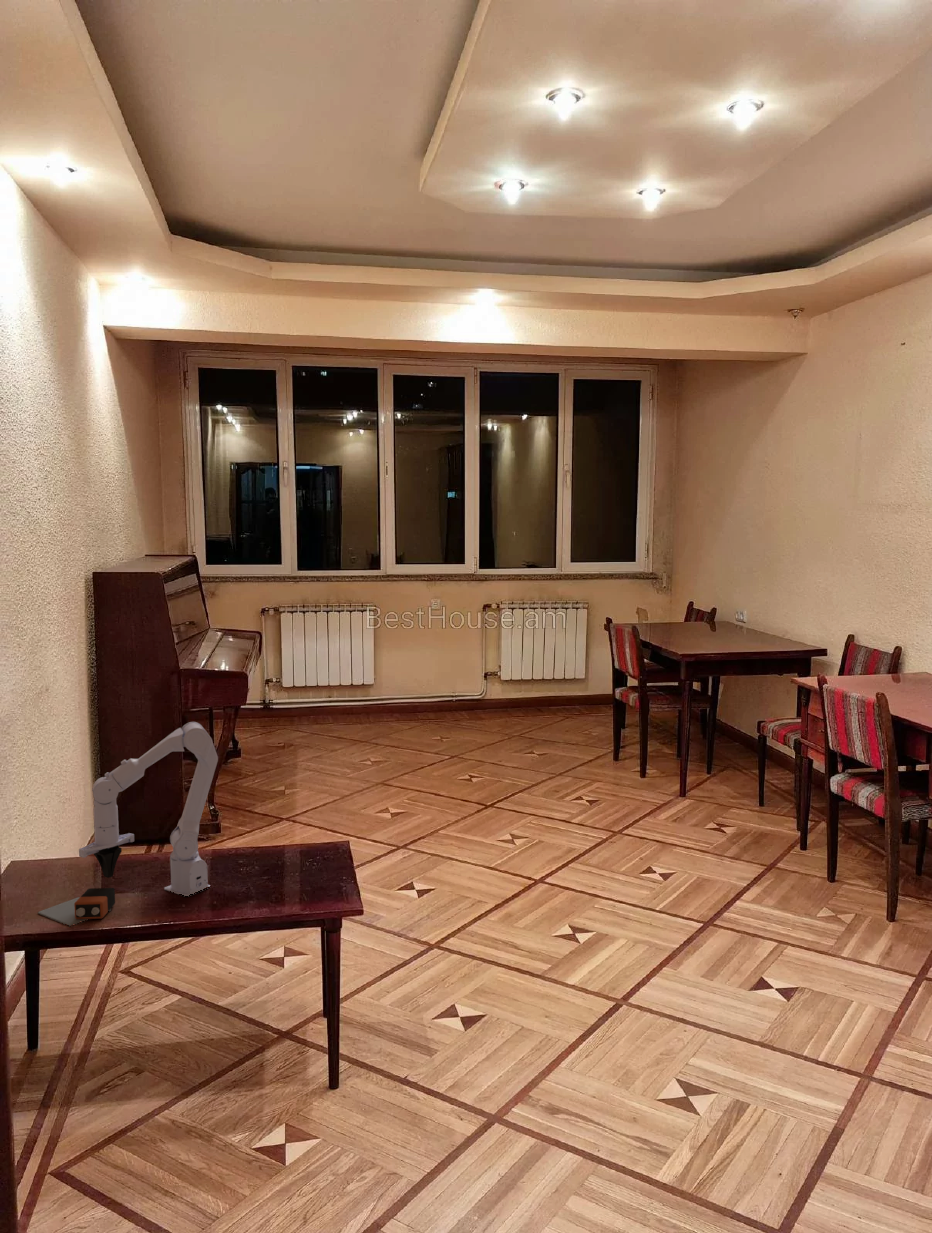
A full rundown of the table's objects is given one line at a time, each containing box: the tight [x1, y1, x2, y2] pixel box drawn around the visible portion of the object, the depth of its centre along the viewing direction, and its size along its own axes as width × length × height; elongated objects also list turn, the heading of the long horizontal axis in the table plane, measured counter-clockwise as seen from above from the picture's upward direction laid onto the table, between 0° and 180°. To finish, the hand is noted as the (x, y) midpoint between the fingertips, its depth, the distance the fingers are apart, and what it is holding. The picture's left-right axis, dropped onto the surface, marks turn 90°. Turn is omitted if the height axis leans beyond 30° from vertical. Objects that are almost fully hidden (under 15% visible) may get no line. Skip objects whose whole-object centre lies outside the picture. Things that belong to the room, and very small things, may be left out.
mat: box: [37, 896, 112, 927], centre depth 216 cm, size 14×11×1 cm
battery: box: [74, 887, 116, 920], centre depth 214 cm, size 4×7×10 cm
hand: (108, 876), depth 222 cm, fingers closed
